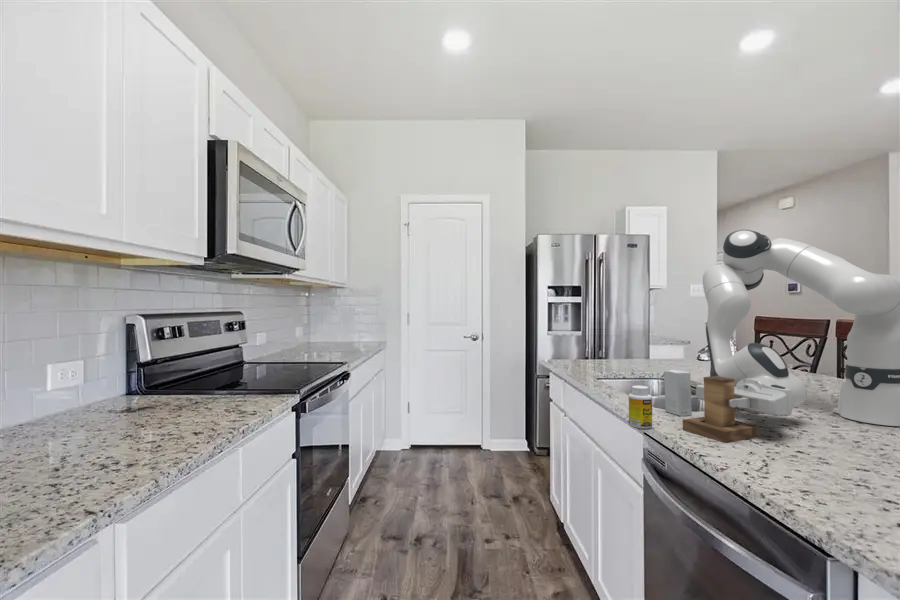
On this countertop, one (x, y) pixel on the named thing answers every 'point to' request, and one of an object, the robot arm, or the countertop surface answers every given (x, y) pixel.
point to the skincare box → (677, 392)
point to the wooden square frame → (721, 430)
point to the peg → (718, 401)
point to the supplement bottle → (640, 408)
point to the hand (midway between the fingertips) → (716, 400)
